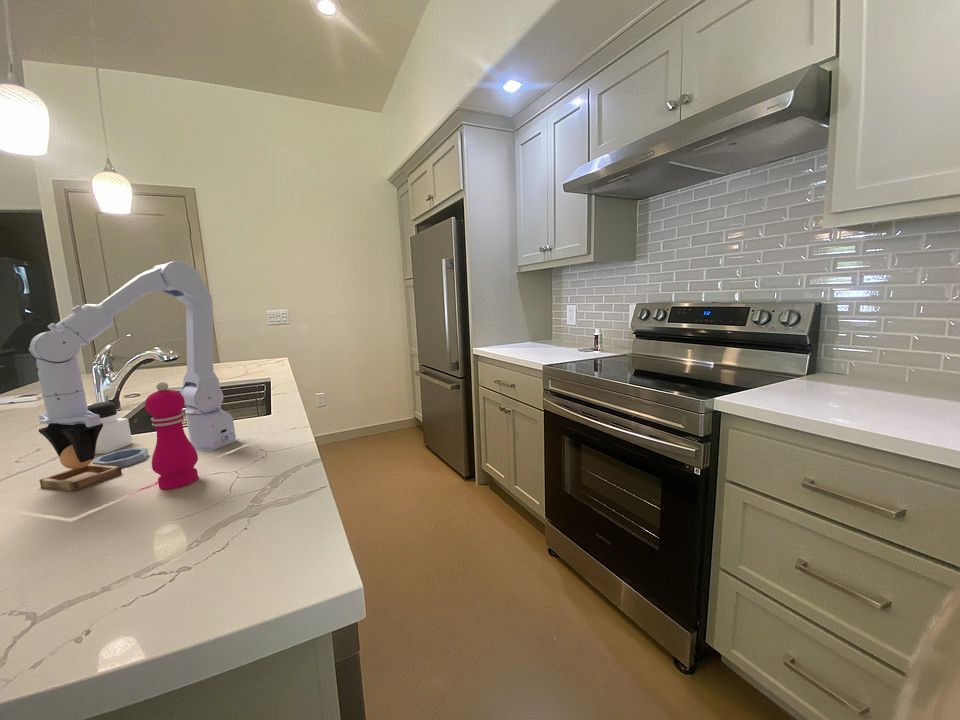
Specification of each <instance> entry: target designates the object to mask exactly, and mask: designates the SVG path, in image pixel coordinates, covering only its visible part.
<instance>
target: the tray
mask: <svg viewBox="0 0 960 720" xmlns="http://www.w3.org/2000/svg"><path fill="white" fill-rule="evenodd" d="M122 474H123V472H122V467H117V466H107V465H98V464H92V463H90V464H89V465H87V466H86V467H83V468H80V469H68V470H67V469H66V470H64V471H62V472H58V473H56V474H52V475H50V476H46V477H44V478H41V479H39V485H40V488H43V489H44V488H45V489H50V490H59V491H67V492H74V493H75V492H76V493H77V492H78V491H80V490H83V489H86V488H89V487H92V486H93V485H96V484H99V483H103V482H104V481H107V480H110V479H113V478H115V477H118V476H120V475H122Z"/></svg>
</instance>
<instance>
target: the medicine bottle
mask: <svg viewBox="0 0 960 720" xmlns="http://www.w3.org/2000/svg"><path fill="white" fill-rule="evenodd" d="M87 407H88V411H90V412H92V413H94V414H97V415H99V416H100V421H101V423H103V427H102V429H101V431H100V433H99V435H98V438H97V443H96V449H95V455H97V454H104V455H106V454H109V453H112V452H115V451H117V450H118V449H121V448H124V447H126V446H129V445H132V444H133V437H132V433H131V428H130V422H129V419H128V418H126V417H125V418H122V417H121V418H118V412H117V407H116V403H115V402H112V401H101V402H93V403H89V404H87Z"/></svg>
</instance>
